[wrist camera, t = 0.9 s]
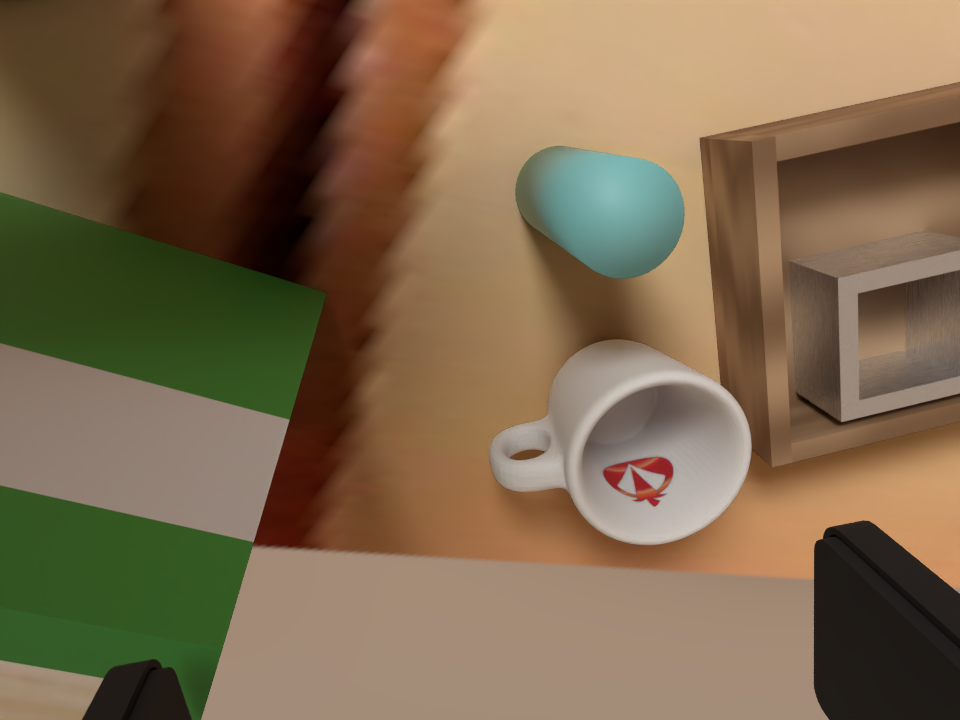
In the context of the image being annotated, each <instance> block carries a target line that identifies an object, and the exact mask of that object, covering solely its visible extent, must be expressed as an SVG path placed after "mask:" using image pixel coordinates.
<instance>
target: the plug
mask: <svg viewBox="0 0 960 720" xmlns="http://www.w3.org/2000/svg"><path fill="white" fill-rule="evenodd" d="M516 201H517V206H518V208H519V211H520V213H521V214H522V216H523V217H524V219H525V220H526V221H527V222H528V223H529V224H530V225H531V226H532V227H534V228H535V229H537V230H538V231H539V232H541V233H542V234H543V235H545V236H546V237H548V238H549V239H550V240H552V241H553V242H555V243H556V244H557V245H559V246H560V247H561V248H563V249H564V250H566V251H567V252H568V253H570V254H571V255H573V256H574V257H575V258H577V259H578V260H580V261H581V262H582V263H584V264H585V265H586V266H588V267H589V268H591V269H592V270H594V271H595V272H597V273H599V274H601V275H604V276H607V277H611V278H618V279H625V278H633V277H637V276H640V275H643V274H645V273H648V272H650V271H651V270H653V269H655V268H656V267H657V266H659V265H660V264H661V263H662V262H663V261H664V260H665V259H666V258H667V257H668V256H669V255H670V254H671V252H672V251H673V249H674V248H675V246H676V244H677V242H678V240H679V238H680V235H681V232H682V229H683V224H684V203H683V198H682V195H681V192H680V190H679V187H678V185H677V184H676V182H675V181H674V179H673V178H672V177H671V175H670V174H669V173H668V172H667V171H665V170H664V169H663V168H662V167H660V166H658V165H657V164H655V163H653V162H650V161H647V160H644V159H638V158H632V157H626V156H620V155H614V154H608V153H602V152H596V151H590V150H583V149H577V148H571V147H565V146H554V147H549V148H546V149H543V150H541V151H539V152H538V153H536V154H535V155H533V156H532V157H531V158H530V159H529V160H528V161H527V162H526V163H525V165H524V166H523V168H522V169H521V171H520V173H519V176H518V179H517V183H516Z"/></svg>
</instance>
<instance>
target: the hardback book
mask: <svg viewBox="0 0 960 720" xmlns="http://www.w3.org/2000/svg"><path fill="white" fill-rule="evenodd" d="M326 294H327V293H325V292H322V291H319V290H316V289H312V288H309V287H306V286H303V285H299V284H296V283H293V282H290V281H286V280H283V279H280V278H277V277H273V276H270V275H267V274H264V273H260V272H257V271H254V270H251V269H247V268H244V267H241V266H238V265H234V264H231V263H228V262H225V261H221V260H218V259H215V258H212V257H208V256H205V255H202V254H199V253H195V252H192V251H189V250H186V249H182V248H179V247H176V246H173V245H169V244H166V243H163V242H160V241H157V240H153V239H150V238H147V237H144V236H140V235H137V234H134V233H131V232H127V231H124V230H121V229H118V228H114V227H111V226H108V225H105V224H101V223H98V222H95V221H92V220H88V219H85V218H82V217H79V216H75V215H72V214H69V213H66V212H62V211H59V210H56V209H53V208H49V207H46V206H43V205H40V204H36V203H33V202H30V201H27V200H23V199H20V198H17V197H14V196H10V195H7V194H4V193H1V192H0V720H82V718H83V717H84V715H85V713H86V711H87V709H88V707H89V705H90V703H91V701H92V700H93V698H94V696H95V694H96V692H97V690H98V688H99V686H100V684H101V683H102V681H103V679H104V677H105V675H106V674H107V672H108V671H109V669H111V668H113V667H114V666H119V665H125V664H130V663H135V662H140V661H145V660H150V659H156V660H158V661H159V662H160V663H161V665H162V667H163V668H166V667H172V668H173V669H174V670H175V672H176V675H177V677H178V680H179V683H180V686H181V689H182V692H183V695H184V698H185V701H186V704H187V707H188V709H189V712H190V715H191V718H192V720H201V718H202V714H203V711H204V708H205V704H206V701H207V698H208V695H209V691H210V688H211V685H212V681H213V678H214V675H215V671H216V668H217V665H218V662H219V658H220V655H221V652H222V648H223V645H224V642H225V638H226V635H227V631H228V628H229V625H230V621H231V618H232V614H233V611H234V608H235V604H236V600H237V597H238V594H239V590H240V587H241V584H242V580H243V577H244V573H245V570H246V567H247V563H248V560H249V556H250V553H251V550H252V546H253V543H254V539H255V536H256V533H257V529H258V526H259V522H260V519H261V516H262V512H263V509H264V505H265V502H266V499H267V495H268V492H269V488H270V485H271V482H272V478H273V475H274V471H275V468H276V464H277V461H278V458H279V454H280V451H281V447H282V444H283V441H284V437H285V434H286V430H287V427H288V424H289V420H290V417H291V413H292V410H293V407H294V403H295V400H296V396H297V393H298V390H299V386H300V383H301V379H302V376H303V373H304V369H305V366H306V362H307V359H308V356H309V352H310V349H311V345H312V342H313V338H314V335H315V332H316V328H317V325H318V321H319V318H320V315H321V311H322V308H323V304H324V301H325V298H326Z"/></svg>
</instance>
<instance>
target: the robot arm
mask: <svg viewBox="0 0 960 720" xmlns="http://www.w3.org/2000/svg"><path fill="white" fill-rule="evenodd" d="M814 689H815V693H816V697H817V699H818V702H819V704H820V706H821V708H822V710H823V711H824V713H825V714H826V716H827V717H828V718H829V720H960V594H959V593H958V592H957V591H955V590H954V589H953V588H952V587H951V586H949V585H948V584H947V583H946V582H944V581H943V580H942V579H941V578H940V577H938V576H937V575H936V574H935V573H933V572H932V571H931V570H930V569H929V568H927V567H926V566H925V565H924V564H922V563H921V562H920V561H919V560H918V559H916V558H915V557H914V556H913V555H911V554H910V553H909V552H908V551H906V550H905V549H904V548H903V547H902V546H900V545H899V544H898V543H897V542H895V541H894V540H893V539H892V538H891V537H889V536H888V535H887V534H886V533H884V532H883V531H882V530H881V529H880V528H878V527H877V526H876V525H875V524H873V523H871V522H870V521H859V522H854V523H849V524H844V525H838V526H833V527H829V528H827V529H826V530H825V532H824V536H823V539H820V540H818V541H816V543H815V548H814ZM82 720H192V718H191V715H190V712H189V709H188V707H187V704H186V701H185V698H184V695H183V692H182V689H181V686H180V683H179V680H178V677H177V675H176V672H175V670H174V669H173V668H172V667H166V668H163V667H162V665H161V663H160V662H159V661H158V660H156V659H150V660H145V661H140V662H135V663H130V664H125V665H119V666H114V667H113V668H111V669H109V671H108V672H107V674H106V675H105V677H104V679H103V681H102V683H101V684H100V686H99V688H98V690H97V692H96V694H95V696H94V698H93V700H92V701H91V703H90V705H89V707H88V709H87V711H86V713H85V715H84V717H83V718H82Z"/></svg>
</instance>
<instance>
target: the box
mask: <svg viewBox="0 0 960 720" xmlns="http://www.w3.org/2000/svg"><path fill="white" fill-rule="evenodd" d="M700 146H701V158H702V169H703V181H704V193H705V204H706V216H707V228H708V239H709V251H710V263H711V274H712V286H713V297H714V309H715V321H716V332H717V344H718V356H719V367H720V379H721V386H722V387H724V388H725V389H726V390H727V391H728V392H729V393H730V394H731V395H732V396H733V397H734V398H735V400H736V401H737V402H738V404H739V405H740V407H741V408H742V410H743V412H744V414H745V416H746V419H747V422H748V425H749V429H750V433H751V444H752V450H753V451H754V452H755V453H756V454H758V455H759V456H760V457H761V458H762V459H763V460H764V461H765V462H766V463H768V464H769V465H770V466H771V467H776V466H780V465H785V464H789V463H793V462H797V461H801V460H805V459H809V458H813V457H817V456H821V455H825V454H829V453H833V452H838V451H842V450H846V449H850V448H854V447H858V446H862V445H866V444H870V443H874V442H878V441H882V440H886V439H891V438H895V437H899V436H903V435H907V434H911V433H915V432H919V431H923V430H927V429H931V428H935V427H939V426H944V425H948V424H952V423H956V422H960V393H959V394H955V395H951V396H947V397H943V398H939V399H935V400H931V401H926V402H922V403H918V404H914V405H910V406H906V407H902V408H898V409H893V410H889V411H885V412H881V413H877V414H873V415H869V416H865V417H860V418H856V419H852V420H848V421H844V422H840V421H839V420H837V419H836V418H834V417H833V416H831V415H830V414H828V413H827V412H825V411H824V410H822V409H821V408H819V407H818V406H816V405H815V404H813V403H812V402H810V401H809V400H807V399H806V398H804V397H803V396H801V395H800V394H798V393H797V392H795V379H794V358H793V337H792V316H791V295H790V275H789V261H791V260H795V259H799V258H804V257H808V256H813V255H817V254H821V253H826V252H830V251H835V250H839V249H843V248H848V247H852V246H857V245H861V244H865V243H870V242H874V241H879V240H883V239H887V238H892V237H896V236H901V235H905V234H909V233H914V232H918V231H923V230H925V231H929V232H934V233H939V234H944V235H948V236H953V237H958V238H960V82H958V83H954V84H949V85H944V86H940V87H935V88H930V89H926V90H921V91H916V92H912V93H907V94H902V95H898V96H893V97H888V98H884V99H879V100H874V101H870V102H865V103H860V104H856V105H851V106H847V107H842V108H837V109H833V110H828V111H823V112H819V113H814V114H809V115H805V116H800V117H795V118H791V119H786V120H781V121H777V122H772V123H767V124H763V125H758V126H753V127H749V128H744V129H739V130H735V131H730V132H725V133H721V134H716V135H711V136H707V137H702V138H700ZM905 337H906V282H905V283H901V284H896V285H892V286H888V287H884V288H879V289H875V290H871V291H866V292H862V293H858V346H859V360H862V359H866V358H871V357H875V356H879V355H883V354H887V353H892V352H896V351H900V350H904V349H905Z"/></svg>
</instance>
